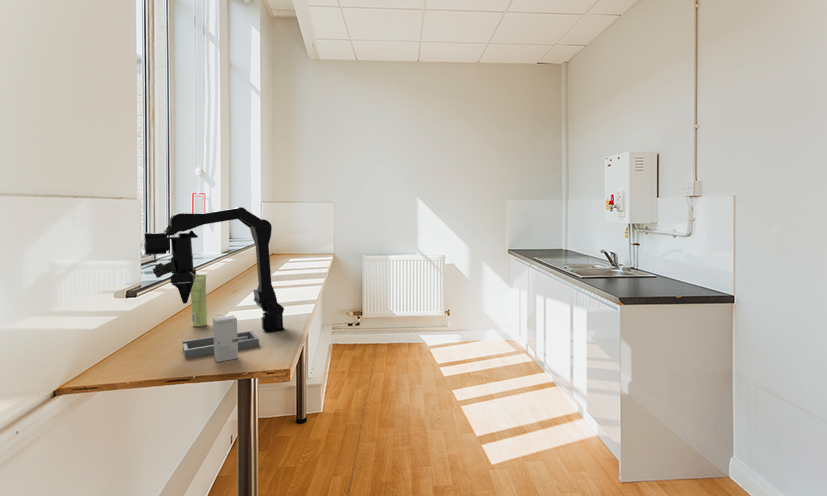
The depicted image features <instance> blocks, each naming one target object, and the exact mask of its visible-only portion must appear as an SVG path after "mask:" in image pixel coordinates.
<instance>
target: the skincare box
mask: <svg viewBox="0 0 827 496" xmlns="http://www.w3.org/2000/svg"><path fill="white" fill-rule="evenodd" d="M212 326H213V327H212V332H213V336H214V354H213V355H214V356H213V357H214V359H215V361H216V363H218V362H219V363H220V362H224V361H225V362H226V361H230V360H235V359H236V360H237V359H239V350H238V337H237V333H238V318H237V317H236V316H234V315H226V316H220V317H213V318H212ZM213 336H212V337H213Z"/></svg>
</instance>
